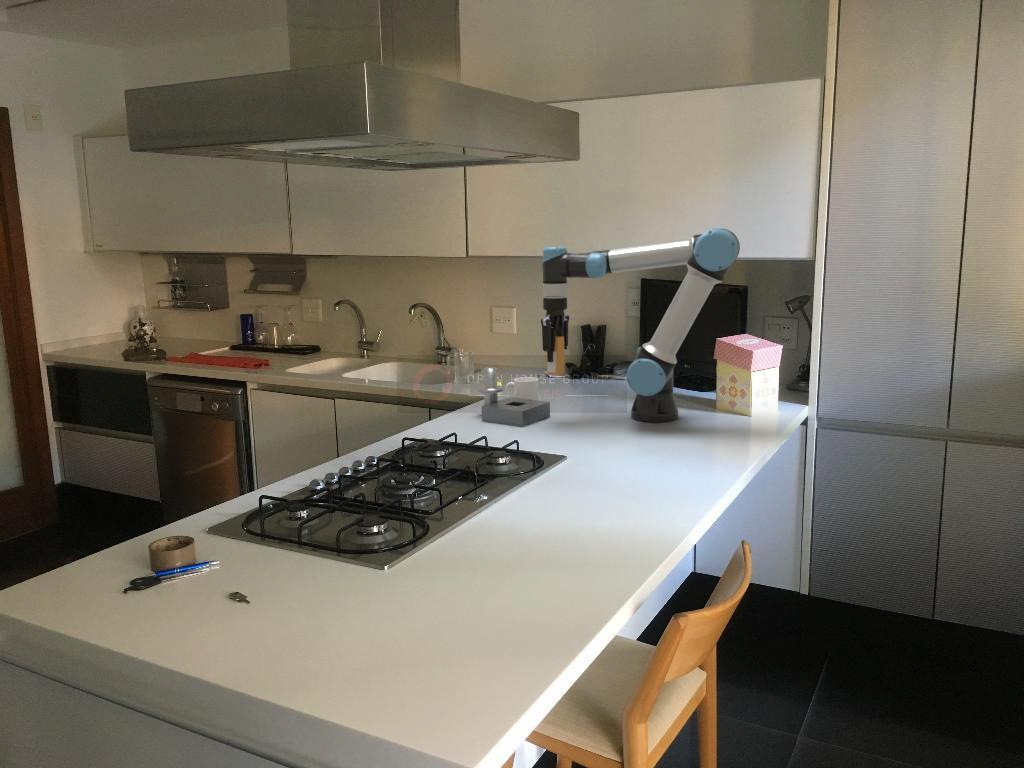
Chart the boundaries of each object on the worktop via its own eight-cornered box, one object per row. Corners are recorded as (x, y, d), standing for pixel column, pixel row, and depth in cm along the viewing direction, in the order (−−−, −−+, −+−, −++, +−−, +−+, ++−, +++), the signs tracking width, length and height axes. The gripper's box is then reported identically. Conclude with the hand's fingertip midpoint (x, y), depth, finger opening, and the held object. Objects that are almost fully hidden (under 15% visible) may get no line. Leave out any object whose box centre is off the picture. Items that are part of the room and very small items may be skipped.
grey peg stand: (549, 416, 274) (549, 368, 271) (522, 426, 262) (521, 376, 259) (495, 409, 287) (494, 363, 284) (466, 418, 274) (465, 370, 271)
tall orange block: (564, 373, 265) (564, 336, 262) (557, 375, 262) (557, 338, 259) (553, 372, 267) (553, 335, 265) (547, 374, 264) (546, 337, 262)
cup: (534, 411, 283) (533, 381, 281) (501, 409, 287) (500, 380, 285) (541, 406, 291) (541, 377, 289) (509, 404, 295) (509, 376, 293)
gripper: (559, 294, 269) (559, 366, 273) (529, 298, 255) (531, 374, 259) (579, 295, 264) (579, 367, 269) (550, 299, 251) (551, 376, 255)
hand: (555, 370), depth 264 cm, fingers closed on tall orange block, 4 cm apart
